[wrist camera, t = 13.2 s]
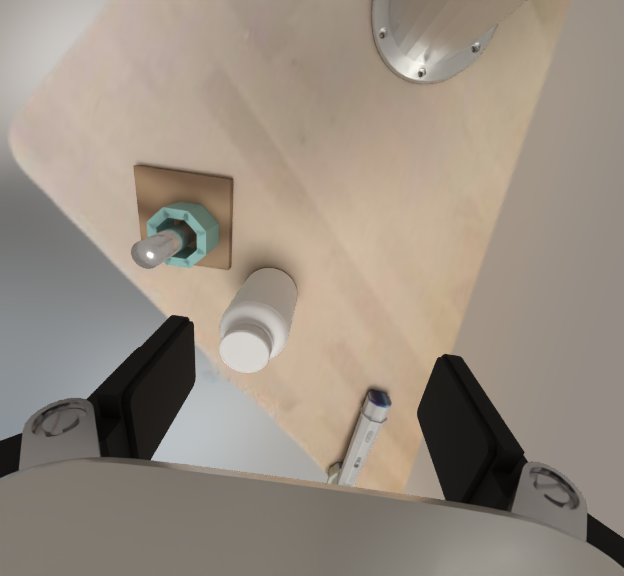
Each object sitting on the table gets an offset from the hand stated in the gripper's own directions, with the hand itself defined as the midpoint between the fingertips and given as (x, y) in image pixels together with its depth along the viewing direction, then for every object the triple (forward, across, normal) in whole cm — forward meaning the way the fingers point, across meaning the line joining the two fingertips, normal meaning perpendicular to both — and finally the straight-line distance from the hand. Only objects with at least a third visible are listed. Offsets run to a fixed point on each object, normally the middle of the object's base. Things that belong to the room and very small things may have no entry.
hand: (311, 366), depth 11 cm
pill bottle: (+31, +6, +12) cm, 33 cm away
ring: (+29, +17, +4) cm, 34 cm away
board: (+30, +18, +3) cm, 35 cm away
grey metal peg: (+29, +17, +4) cm, 34 cm away
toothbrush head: (+31, -12, +40) cm, 52 cm away
